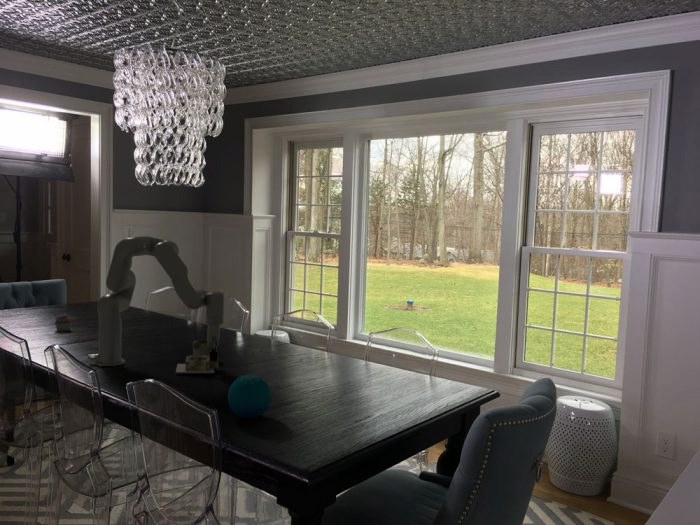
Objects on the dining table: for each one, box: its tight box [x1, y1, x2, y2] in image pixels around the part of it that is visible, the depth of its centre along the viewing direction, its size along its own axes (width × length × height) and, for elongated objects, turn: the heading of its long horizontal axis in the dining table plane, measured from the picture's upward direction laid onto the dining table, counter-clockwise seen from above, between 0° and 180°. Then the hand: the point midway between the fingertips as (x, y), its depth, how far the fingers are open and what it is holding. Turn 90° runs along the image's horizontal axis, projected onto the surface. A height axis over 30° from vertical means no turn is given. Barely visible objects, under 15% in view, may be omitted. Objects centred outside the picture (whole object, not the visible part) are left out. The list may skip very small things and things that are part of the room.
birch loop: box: [185, 355, 220, 371], centre depth 267 cm, size 14×10×4 cm
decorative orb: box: [227, 374, 272, 419], centre depth 210 cm, size 15×15×15 cm
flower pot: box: [197, 339, 210, 358], centre depth 286 cm, size 9×9×9 cm
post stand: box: [175, 340, 215, 374], centre depth 266 cm, size 16×13×13 cm
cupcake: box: [54, 312, 73, 333], centre depth 332 cm, size 9×9×10 cm
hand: (213, 358), depth 267 cm, fingers open, 9 cm apart
